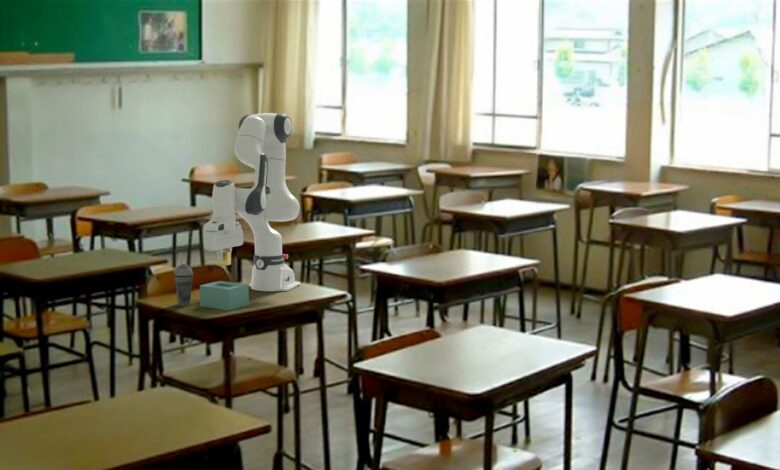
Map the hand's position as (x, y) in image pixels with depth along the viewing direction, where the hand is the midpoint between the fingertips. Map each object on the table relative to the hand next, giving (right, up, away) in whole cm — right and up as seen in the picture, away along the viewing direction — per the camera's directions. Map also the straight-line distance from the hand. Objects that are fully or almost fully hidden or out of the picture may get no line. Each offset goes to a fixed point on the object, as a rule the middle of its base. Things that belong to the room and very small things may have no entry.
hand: (224, 259), depth 458 cm
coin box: (0, -18, +3) cm, 18 cm away
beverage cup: (-16, -17, +4) cm, 24 cm away
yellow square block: (0, -2, 0) cm, 2 cm away
